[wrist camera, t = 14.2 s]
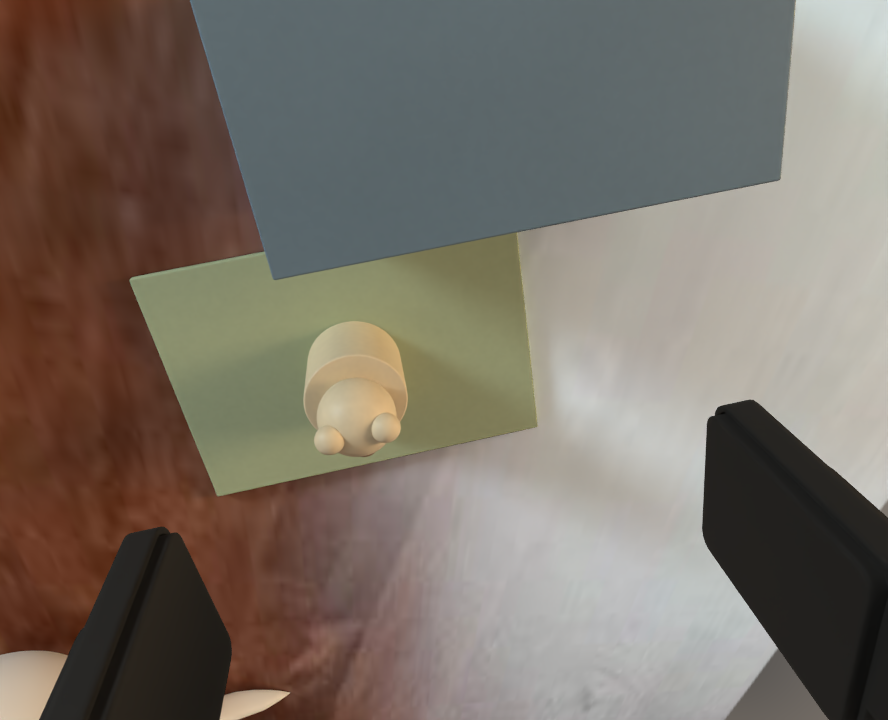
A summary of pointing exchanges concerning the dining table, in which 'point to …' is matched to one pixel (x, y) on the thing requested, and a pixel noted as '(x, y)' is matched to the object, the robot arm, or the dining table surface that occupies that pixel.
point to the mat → (308, 315)
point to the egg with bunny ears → (35, 673)
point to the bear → (354, 389)
